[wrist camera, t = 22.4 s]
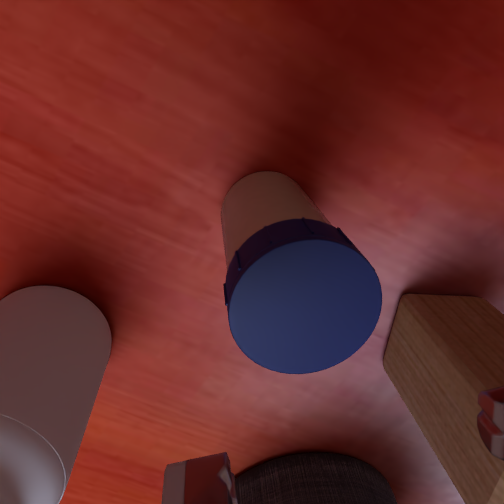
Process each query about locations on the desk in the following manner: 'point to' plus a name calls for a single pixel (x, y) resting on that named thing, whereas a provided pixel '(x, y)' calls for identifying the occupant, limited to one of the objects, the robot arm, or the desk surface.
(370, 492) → the planter
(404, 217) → the desk surface
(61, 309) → the pill bottle
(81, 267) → the desk surface
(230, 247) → the jar
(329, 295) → the jar lid
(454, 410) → the decorative item
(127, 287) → the desk surface
